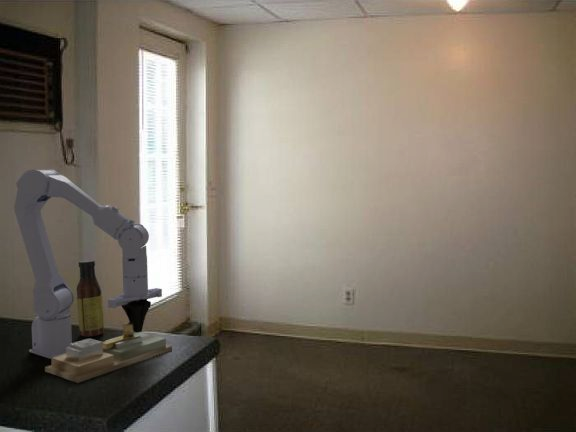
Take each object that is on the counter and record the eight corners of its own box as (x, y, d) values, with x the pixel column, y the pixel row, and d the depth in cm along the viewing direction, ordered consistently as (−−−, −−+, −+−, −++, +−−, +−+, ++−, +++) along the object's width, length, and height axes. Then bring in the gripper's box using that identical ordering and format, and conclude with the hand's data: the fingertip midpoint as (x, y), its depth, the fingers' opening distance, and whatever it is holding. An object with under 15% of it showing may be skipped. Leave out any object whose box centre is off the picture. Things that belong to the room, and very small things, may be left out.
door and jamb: (45, 371, 128) (44, 358, 127) (139, 341, 148) (139, 330, 148) (77, 383, 121) (76, 368, 120) (172, 350, 141) (171, 338, 141)
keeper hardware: (66, 357, 128) (65, 344, 127) (129, 338, 141) (128, 327, 141) (79, 361, 125) (78, 348, 125) (142, 341, 138) (141, 330, 138)
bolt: (100, 347, 133) (99, 329, 133) (129, 338, 140) (129, 321, 139) (107, 349, 132) (106, 331, 131) (136, 340, 138) (135, 323, 138)
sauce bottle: (109, 332, 157) (106, 259, 156) (94, 338, 151) (91, 263, 150) (88, 330, 160) (85, 258, 158) (73, 336, 154) (70, 262, 152)
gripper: (121, 282, 131) (123, 341, 132) (169, 272, 142) (171, 327, 144) (101, 279, 135) (103, 336, 136) (150, 269, 147) (152, 322, 148)
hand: (137, 331), depth 140 cm, fingers closed
